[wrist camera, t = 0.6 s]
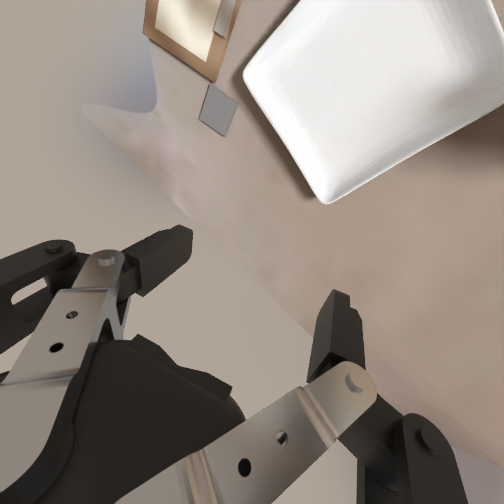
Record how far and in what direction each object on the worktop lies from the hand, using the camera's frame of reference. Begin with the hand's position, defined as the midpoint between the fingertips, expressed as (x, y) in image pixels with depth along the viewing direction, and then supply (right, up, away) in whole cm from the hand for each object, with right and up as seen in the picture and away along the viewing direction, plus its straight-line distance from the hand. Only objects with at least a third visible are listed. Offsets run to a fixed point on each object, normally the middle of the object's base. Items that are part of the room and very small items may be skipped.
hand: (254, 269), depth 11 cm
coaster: (-5, +23, +22) cm, 32 cm away
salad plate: (+13, +22, +15) cm, 30 cm away
